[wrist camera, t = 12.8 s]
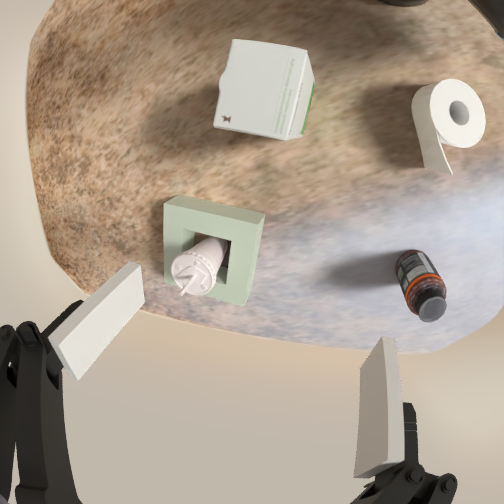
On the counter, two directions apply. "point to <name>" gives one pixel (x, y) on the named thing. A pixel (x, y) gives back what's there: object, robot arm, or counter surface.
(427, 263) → the supplement bottle
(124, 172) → the counter surface
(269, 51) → the skincare box
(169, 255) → the block
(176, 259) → the smoothie
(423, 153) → the toilet paper
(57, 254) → the counter surface
